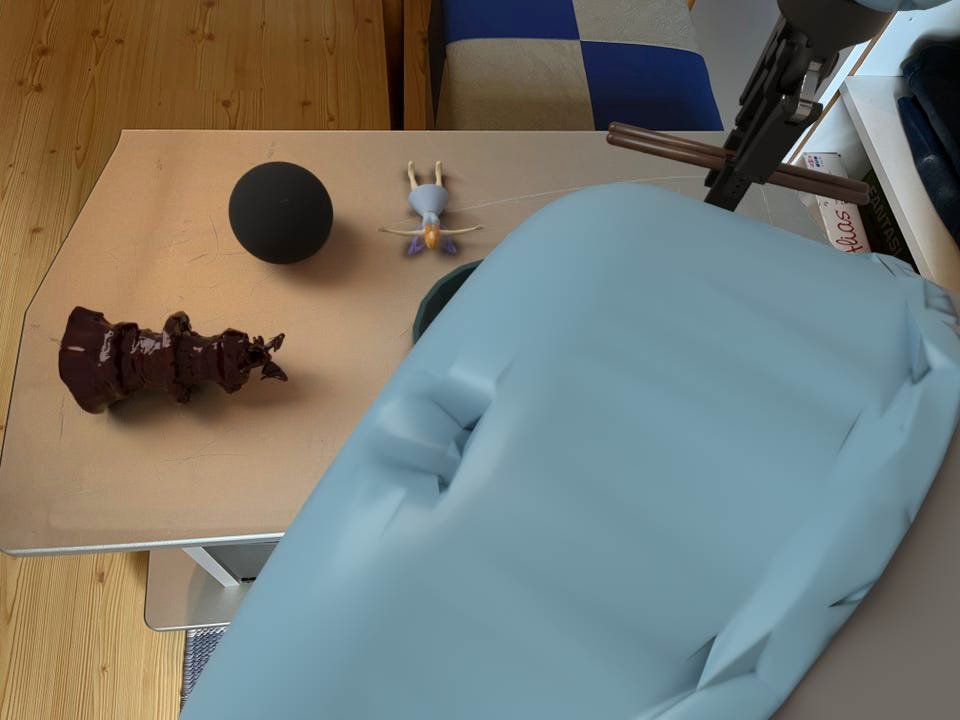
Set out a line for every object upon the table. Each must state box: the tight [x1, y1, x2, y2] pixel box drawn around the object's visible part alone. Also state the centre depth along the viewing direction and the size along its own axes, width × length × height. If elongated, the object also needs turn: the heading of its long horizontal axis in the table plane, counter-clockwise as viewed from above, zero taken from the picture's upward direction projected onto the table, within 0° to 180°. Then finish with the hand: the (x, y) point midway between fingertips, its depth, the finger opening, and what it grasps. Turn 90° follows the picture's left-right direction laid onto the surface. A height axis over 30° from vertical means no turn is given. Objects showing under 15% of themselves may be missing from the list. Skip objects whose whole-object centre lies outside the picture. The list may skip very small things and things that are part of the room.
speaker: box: [227, 160, 334, 266], centre depth 73 cm, size 10×10×10 cm
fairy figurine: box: [375, 160, 487, 255], centre depth 80 cm, size 12×5×12 cm
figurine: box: [57, 305, 289, 415], centre depth 67 cm, size 10×10×18 cm
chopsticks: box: [605, 121, 870, 207], centre depth 64 cm, size 23×2×1 cm, turn 77°
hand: (717, 198), depth 68 cm, fingers closed on chopsticks, 2 cm apart
